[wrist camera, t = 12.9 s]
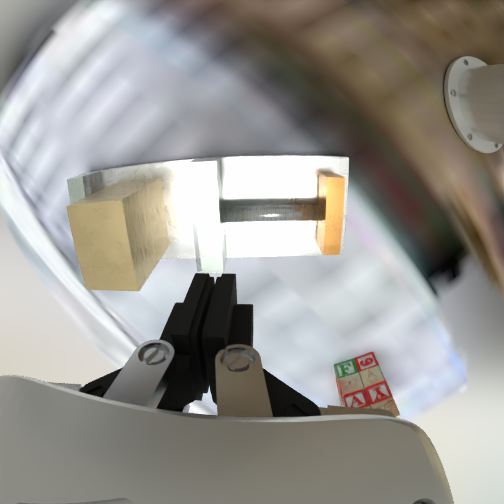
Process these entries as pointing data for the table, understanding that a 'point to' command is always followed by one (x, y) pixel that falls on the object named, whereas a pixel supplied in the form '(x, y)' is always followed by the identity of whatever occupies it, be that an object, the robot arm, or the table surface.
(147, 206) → the brass block
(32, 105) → the table surface
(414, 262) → the table surface
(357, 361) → the stack of blocks
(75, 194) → the vise
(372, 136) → the table surface
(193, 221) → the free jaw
